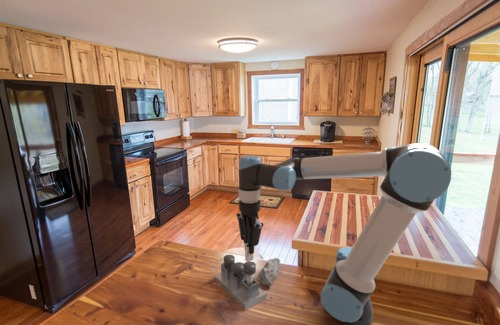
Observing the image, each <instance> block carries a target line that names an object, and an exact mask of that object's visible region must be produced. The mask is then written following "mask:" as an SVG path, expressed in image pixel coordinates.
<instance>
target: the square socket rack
mask: <svg viewBox="0 0 500 325" xmlns="http://www.w3.org/2000/svg"><path fill="white" fill-rule="evenodd" d="M214 281H215V282H217V283H218V285H219V286H220V287H222V289H223V290H225V291H226V293H227V294H229V295H230V296H231V297H232V299H234V301H236V303H238V305H240V307H242V309H243V310H244V311H247V310H249V309H251V308H252V307H254V306H256V305H258V304H259V303H261V302H263V301H264V300H265V299H267V293H266V292H265V291H264V290H263V289H262V288H261V287H260V282H259V280H258V281H257V279H256V278H254V277H253V284H252V285H250V286H248V285H247V284H246V274H245V273H244V274H242V275H240V276H237V275H235V274H234V273H233V266H232V267H229V268H227V267H226V266H225V265H224V262H222V263H221V264H220V272H219V273H215V275H214Z"/></svg>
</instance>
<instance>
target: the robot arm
mask: <svg viewBox="0 0 500 325" xmlns="http://www.w3.org/2000/svg"><path fill="white" fill-rule="evenodd" d="M238 160H239V161H238V199H239V200H238V209H239V210H238V211H240V212H239V213H238V212H237V213H236V218H237V220H238V222H237V223H238V228H239V235H240V236H239V237H240V239H241V241H243V244H244V251H245V252H244V255H245V256H244V257H245V258H244V260H245V262H249V261H251V262H253V261H254V253H255V247H256V246H258V245H259V242H260V238H261V233H262V229H263V227H264V223H263V222H261V221H260V220H259V219H260V216H259V212H260V211H261V187H265V188H270V189H273V190H279V191H291V190H293V187H294V185H295V184H296V180H313V179H314V180H315V179H317V180H319V179H338V178H339V179H341V178H343V179H344V178H346V179H347V178H368V177H373V178H374V177H384V179H383V181H382V183H381V184H380V186H379V189H380V191H381V197H380V198H379V201H377V202H378V203H376V206H375V208H374V209H373V212H371V214H370V216H369V218H368V220H367V222H366V223H365V225H364V227H363V228H362V231H361V232H360V234H359V235H358V237H357V239H356V240H355V242H354V244H353V246H352V247H351V246H350V247H348V246H343V247H340V248H338V249H337V250H336V254H335V263H334V266H333V268H332V270H331V272H330V274H329V276H328V277H327V279H326V281H325V284H324V285H323V286H322V289H321V293H320V301H321V303H322V306H323V307H324V310H326V312H327V313H328V314H329V315H331V316H332V317H333V318H334V319H335V320H336V321H337V322H339V323H341V324H343V325H370V324H372V321H373V317H374V309H373V304H372V302H371V301H372V300H371V295H372V294H373V292H374V291H375V289H376V282H375V277H376V276H377V274H378V273H379V271H380V270H381V268H382V267H383V265H384V264H385V262H386V261H387V259H388V258H389V256H390V254H391V253H392V251H393V250H394V248H395V247H396V246H397V243H398V242H399V241H400V240H401V238H402V236H403V235H404V233H405V231H406V230H407V229H408V227H409V226H410V224H411V223H412V221H413V220H414V217H415V216H416V215H417V213H422V212H423V213H424V212H427V211H428V210H429V209H430V207H431V206H432V204H433V203H434V201H435V200H436V199H438V198H439V197H441V196H443V195H444V193H445V192H446V191H447V190H448V188H449V187H450V184H451V180H452V169H451V166H450V163H449V161H448V160H447V158H446V157H445V156H444V155H443V153H442V152H441V151H440V150H439V149H438V148H437V147H435V146H433V145H431V144H429V143H425V142H424V143H421V142H415V143H409V144H406V145H398V146H391V147H384V149H383V150H380V151H372V152H362V153H361V152H360V153H359V152H358V153H350V154H349V153H348V154H335V155H326V156H314V157H303V158H301V157H300V158H299V157H291V158H287V159H286V160H284V161H281V162H279V163H276V164H266V163H262V158H261V157H260V156H257V155H242V156H241V157H240V158H239V159H238Z"/></svg>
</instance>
